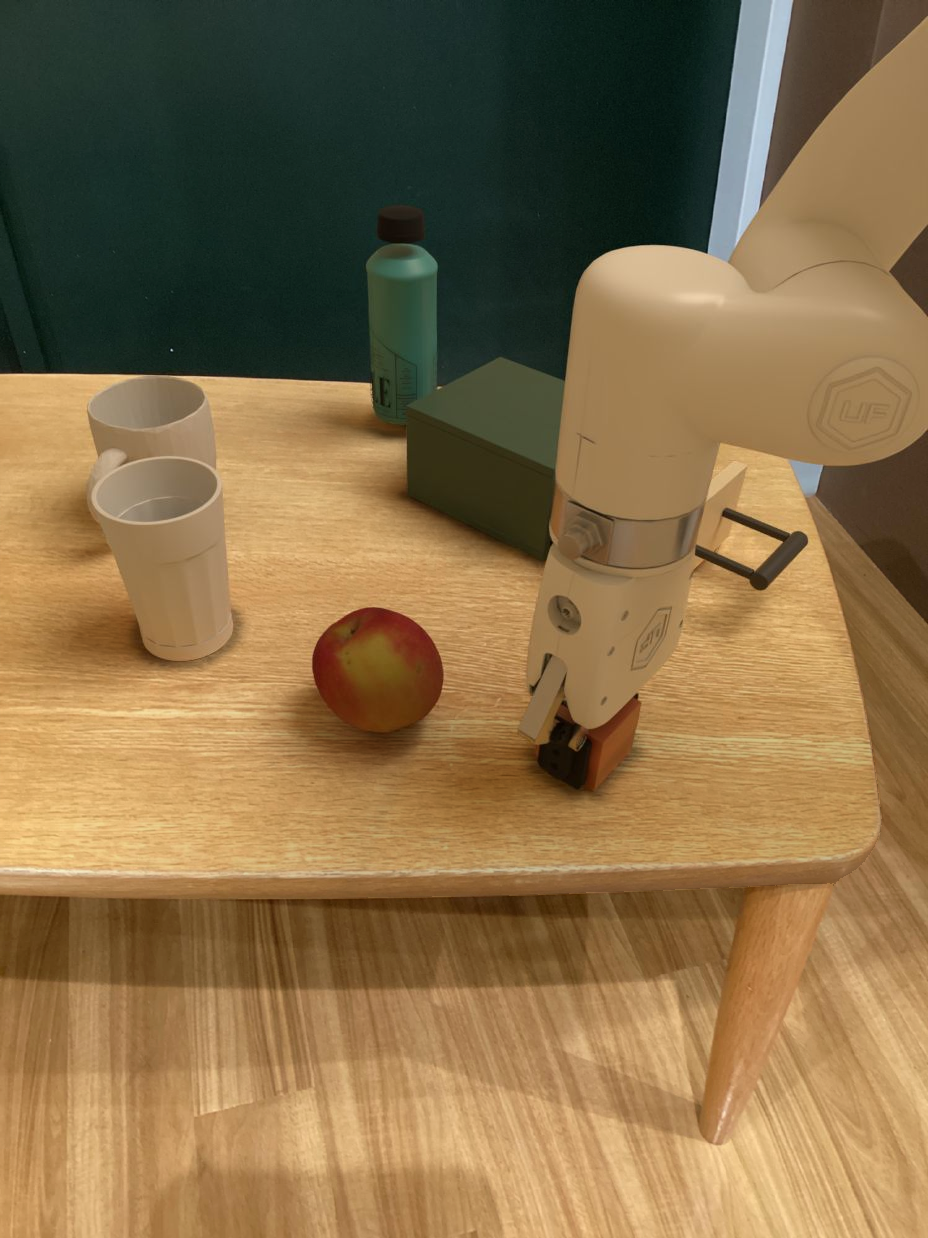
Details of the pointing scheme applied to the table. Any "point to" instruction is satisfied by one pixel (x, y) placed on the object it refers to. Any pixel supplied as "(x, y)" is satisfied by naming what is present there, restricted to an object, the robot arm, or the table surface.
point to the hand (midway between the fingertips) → (584, 749)
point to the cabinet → (489, 452)
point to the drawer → (723, 514)
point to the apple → (377, 670)
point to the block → (608, 741)
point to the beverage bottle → (401, 314)
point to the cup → (170, 552)
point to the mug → (149, 424)
